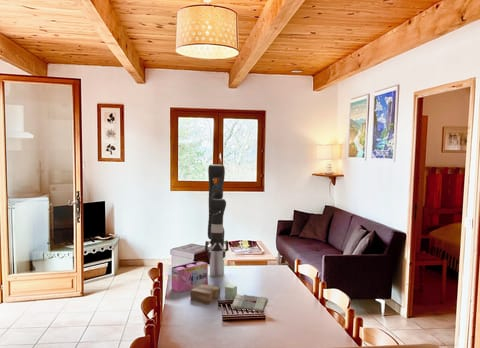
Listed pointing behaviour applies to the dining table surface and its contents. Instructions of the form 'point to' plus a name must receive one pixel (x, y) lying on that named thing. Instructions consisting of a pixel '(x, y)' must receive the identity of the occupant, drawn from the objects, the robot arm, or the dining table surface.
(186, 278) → the gum box
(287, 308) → the dining table surface
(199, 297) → the walnut base
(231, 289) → the sage block
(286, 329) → the dining table surface
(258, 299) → the dish towel
